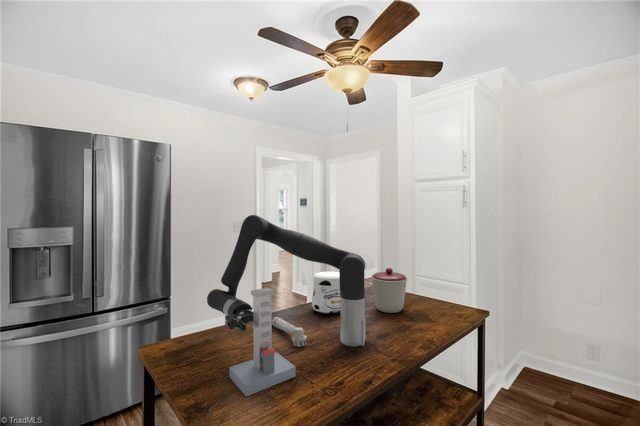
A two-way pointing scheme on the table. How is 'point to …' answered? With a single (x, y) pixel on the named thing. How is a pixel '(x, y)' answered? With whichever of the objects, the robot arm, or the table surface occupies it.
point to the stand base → (262, 373)
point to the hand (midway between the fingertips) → (258, 324)
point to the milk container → (326, 293)
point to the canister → (389, 290)
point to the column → (261, 324)
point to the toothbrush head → (291, 331)
